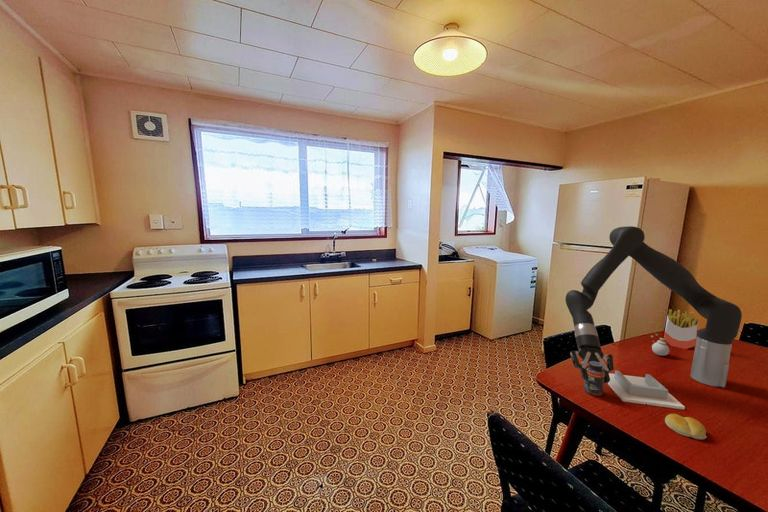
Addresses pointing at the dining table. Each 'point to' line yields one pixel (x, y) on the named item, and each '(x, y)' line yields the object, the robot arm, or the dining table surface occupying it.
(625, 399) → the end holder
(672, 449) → the dining table surface
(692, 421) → the bread roll
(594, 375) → the supplement bottle
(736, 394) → the dining table surface
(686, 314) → the french fries container
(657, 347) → the ornament
